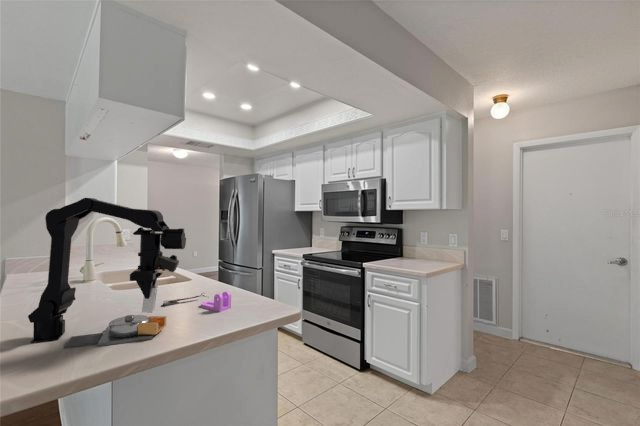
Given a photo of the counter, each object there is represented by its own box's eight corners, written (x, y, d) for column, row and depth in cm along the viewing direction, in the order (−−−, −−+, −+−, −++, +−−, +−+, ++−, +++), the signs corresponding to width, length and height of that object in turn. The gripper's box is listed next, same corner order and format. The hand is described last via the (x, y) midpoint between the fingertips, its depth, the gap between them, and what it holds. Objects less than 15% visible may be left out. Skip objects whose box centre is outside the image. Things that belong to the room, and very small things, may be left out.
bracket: (230, 308, 127) (231, 291, 127) (220, 312, 122) (220, 294, 122) (208, 303, 133) (209, 287, 133) (198, 307, 129) (198, 290, 129)
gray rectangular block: (151, 312, 99) (155, 288, 99) (141, 312, 98) (145, 287, 98) (154, 309, 102) (157, 285, 102) (144, 309, 101) (147, 285, 101)
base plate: (97, 346, 90) (97, 343, 90) (107, 329, 102) (107, 326, 102) (152, 339, 95) (152, 335, 95) (155, 323, 108) (155, 321, 108)
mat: (63, 348, 88) (63, 347, 88) (71, 338, 95) (71, 336, 95) (97, 344, 91) (97, 342, 91) (103, 334, 98) (103, 332, 98)
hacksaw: (162, 308, 127) (162, 304, 127) (153, 302, 134) (153, 299, 134) (217, 297, 144) (217, 294, 144) (207, 293, 151) (207, 290, 151)
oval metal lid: (100, 337, 93) (100, 322, 93) (121, 324, 104) (121, 310, 104) (153, 336, 94) (153, 322, 94) (168, 323, 105) (168, 310, 105)
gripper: (171, 252, 93) (169, 304, 93) (182, 245, 111) (180, 289, 111) (129, 252, 90) (128, 306, 90) (147, 245, 108) (146, 290, 108)
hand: (148, 297), depth 100 cm, fingers closed on gray rectangular block, 3 cm apart
